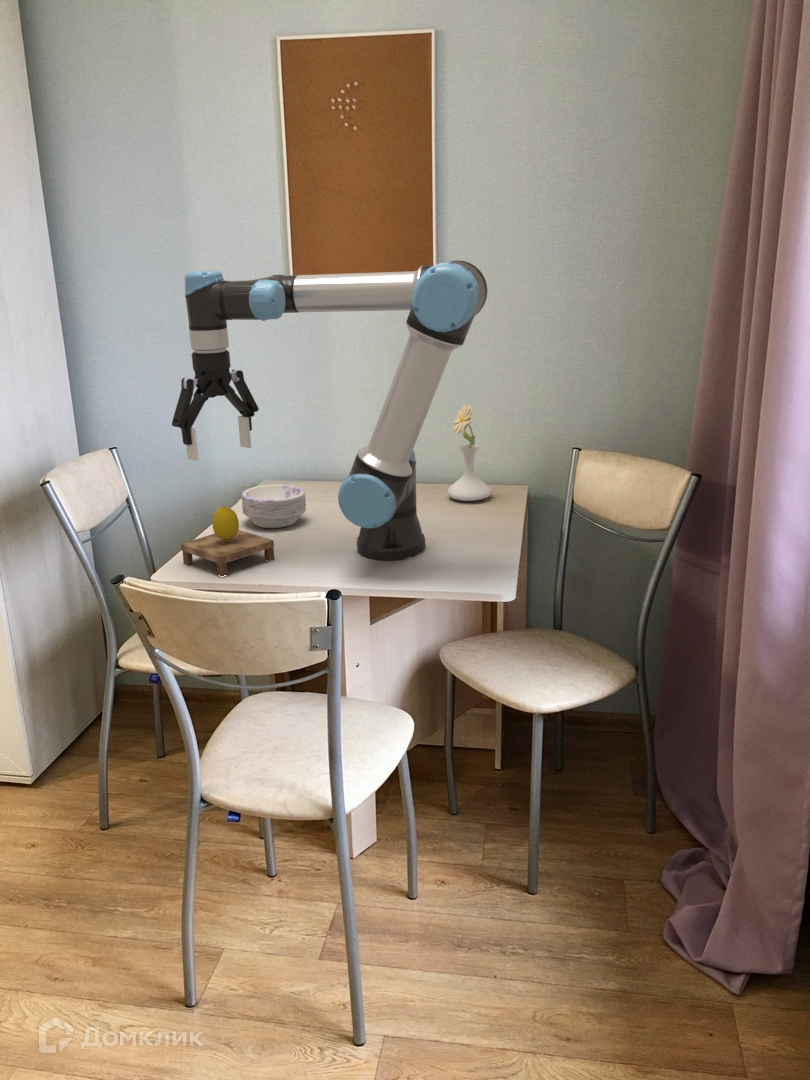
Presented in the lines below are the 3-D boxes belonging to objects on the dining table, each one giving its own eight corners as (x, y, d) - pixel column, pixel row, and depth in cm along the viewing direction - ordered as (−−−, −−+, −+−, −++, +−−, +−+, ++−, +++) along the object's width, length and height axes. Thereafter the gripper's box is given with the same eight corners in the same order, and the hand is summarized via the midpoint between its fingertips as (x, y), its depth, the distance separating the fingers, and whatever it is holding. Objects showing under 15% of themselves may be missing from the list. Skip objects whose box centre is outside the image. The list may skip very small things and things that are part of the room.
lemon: (245, 541, 211) (242, 505, 208) (225, 547, 207) (221, 511, 204) (229, 536, 214) (226, 501, 212) (208, 542, 210) (205, 506, 208)
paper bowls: (318, 517, 241) (316, 486, 239) (285, 535, 228) (283, 502, 226) (265, 511, 247) (263, 480, 245) (231, 528, 234) (228, 496, 232)
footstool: (273, 540, 211) (221, 557, 201) (275, 559, 212) (222, 578, 202) (233, 527, 220) (180, 543, 210) (234, 546, 221) (183, 563, 212)
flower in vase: (447, 492, 259) (446, 398, 251) (490, 491, 258) (490, 397, 250) (447, 506, 246) (446, 408, 238) (492, 506, 246) (493, 407, 238)
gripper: (247, 341, 208) (255, 439, 215) (146, 356, 191) (158, 462, 198) (270, 344, 204) (277, 444, 210) (168, 359, 186) (180, 468, 193)
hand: (220, 453), depth 204 cm, fingers open, 13 cm apart
